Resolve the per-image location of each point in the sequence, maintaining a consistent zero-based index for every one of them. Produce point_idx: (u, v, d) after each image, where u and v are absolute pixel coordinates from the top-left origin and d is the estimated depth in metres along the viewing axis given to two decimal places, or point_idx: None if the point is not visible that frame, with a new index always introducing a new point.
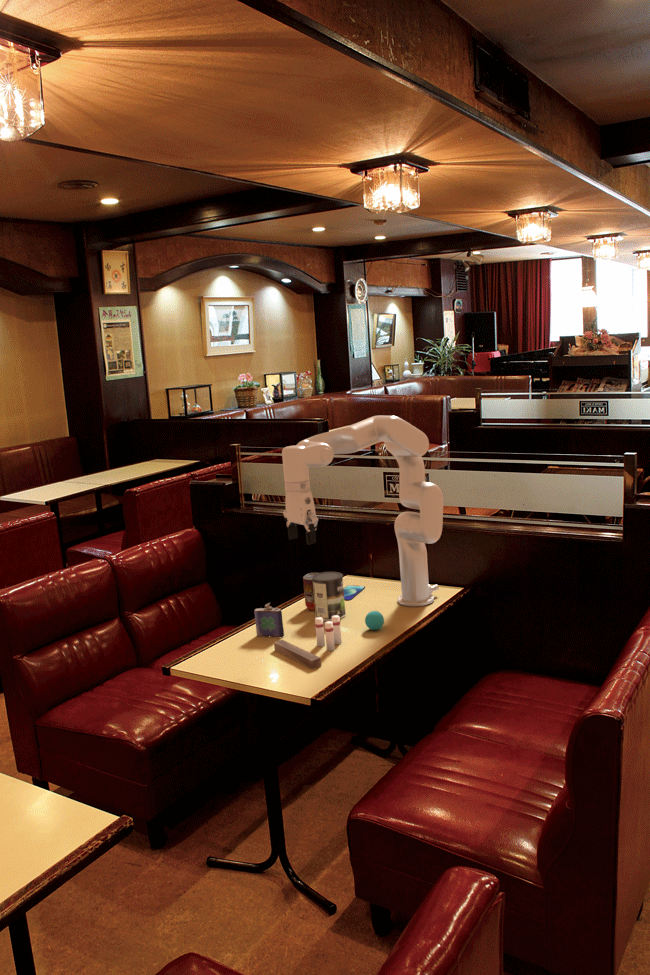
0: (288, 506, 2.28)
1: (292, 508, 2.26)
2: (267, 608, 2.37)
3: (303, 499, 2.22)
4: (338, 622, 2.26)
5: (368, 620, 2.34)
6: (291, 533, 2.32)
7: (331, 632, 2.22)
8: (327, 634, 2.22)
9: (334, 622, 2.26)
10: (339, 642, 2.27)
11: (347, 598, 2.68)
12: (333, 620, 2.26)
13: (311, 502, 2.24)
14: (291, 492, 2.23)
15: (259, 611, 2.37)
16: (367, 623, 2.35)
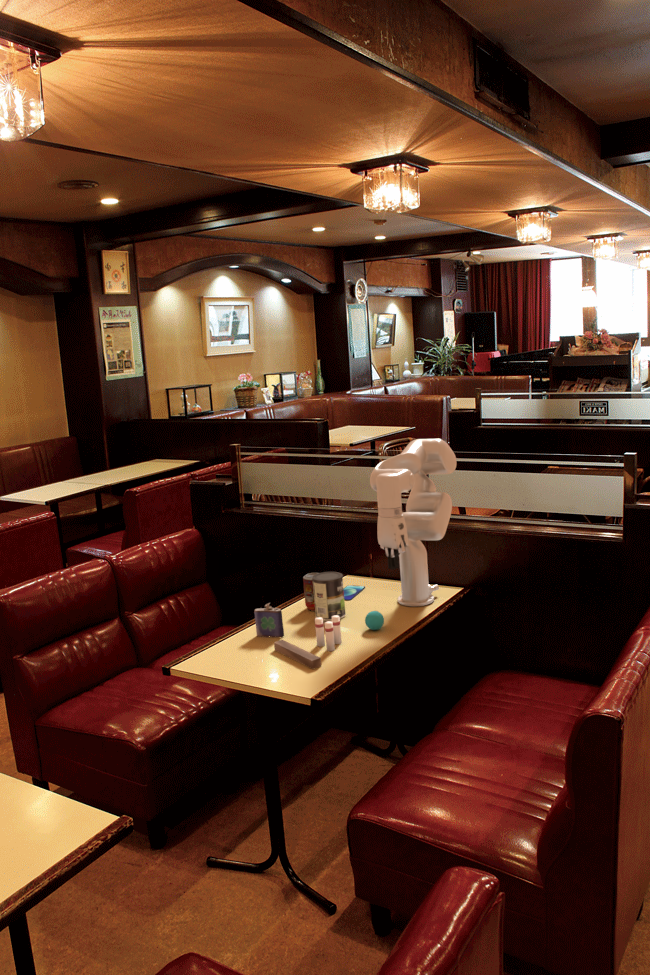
0: (380, 531, 2.37)
1: (385, 533, 2.35)
2: (267, 608, 2.37)
3: (397, 524, 2.32)
4: (338, 622, 2.26)
5: (368, 620, 2.34)
6: None
7: (331, 632, 2.22)
8: (327, 634, 2.22)
9: (334, 622, 2.26)
10: (339, 642, 2.27)
11: (347, 598, 2.68)
12: (333, 620, 2.26)
13: (404, 527, 2.33)
14: (385, 518, 2.33)
15: (259, 611, 2.37)
16: (367, 623, 2.35)
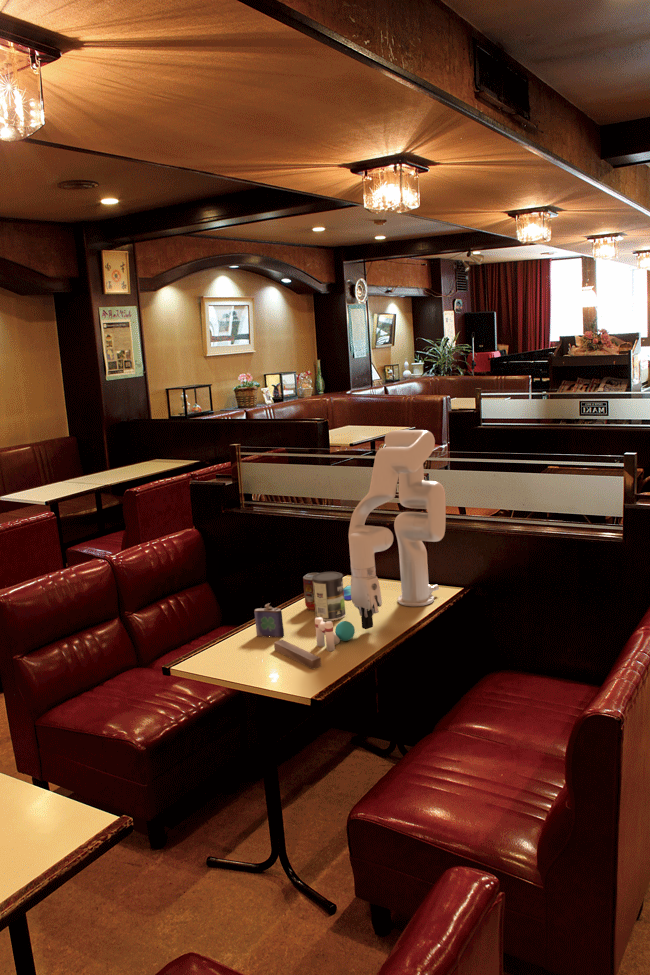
0: (354, 590, 2.33)
1: (358, 593, 2.31)
2: (267, 608, 2.37)
3: (370, 585, 2.28)
4: None
5: None
6: None
7: (331, 632, 2.22)
8: (327, 634, 2.22)
9: (323, 630, 2.23)
10: (337, 641, 2.27)
11: (347, 598, 2.68)
12: (321, 629, 2.23)
13: (377, 588, 2.29)
14: (358, 578, 2.29)
15: (259, 611, 2.37)
16: None
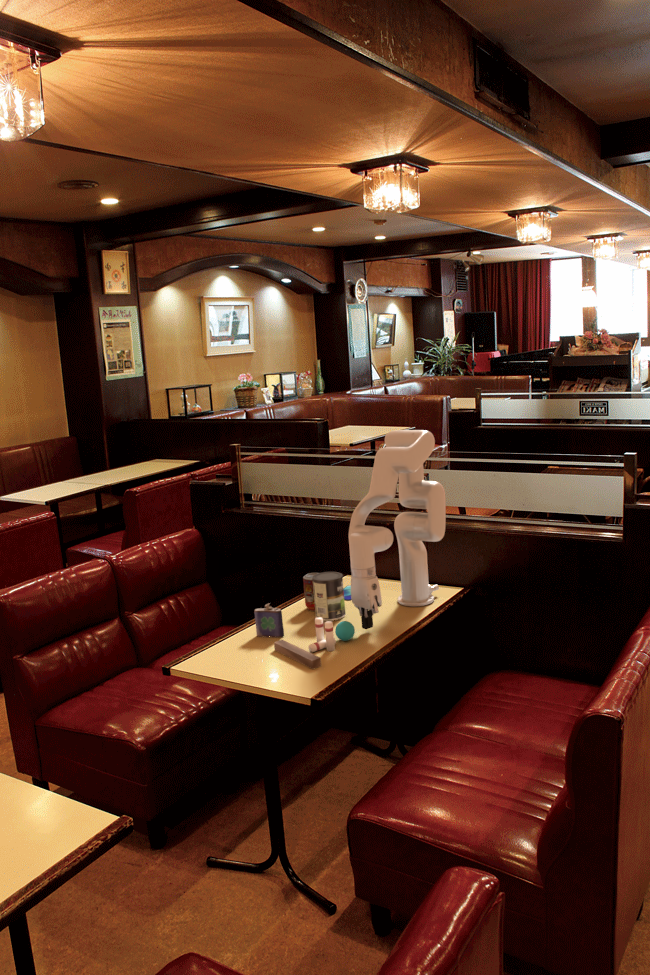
0: (354, 590, 2.33)
1: (358, 593, 2.31)
2: (267, 608, 2.37)
3: (370, 585, 2.28)
4: (317, 647, 2.22)
5: None
6: None
7: (331, 632, 2.22)
8: (327, 634, 2.22)
9: (316, 650, 2.23)
10: (334, 642, 2.26)
11: (347, 598, 2.68)
12: (313, 651, 2.23)
13: (377, 588, 2.29)
14: (358, 578, 2.29)
15: (259, 611, 2.37)
16: None
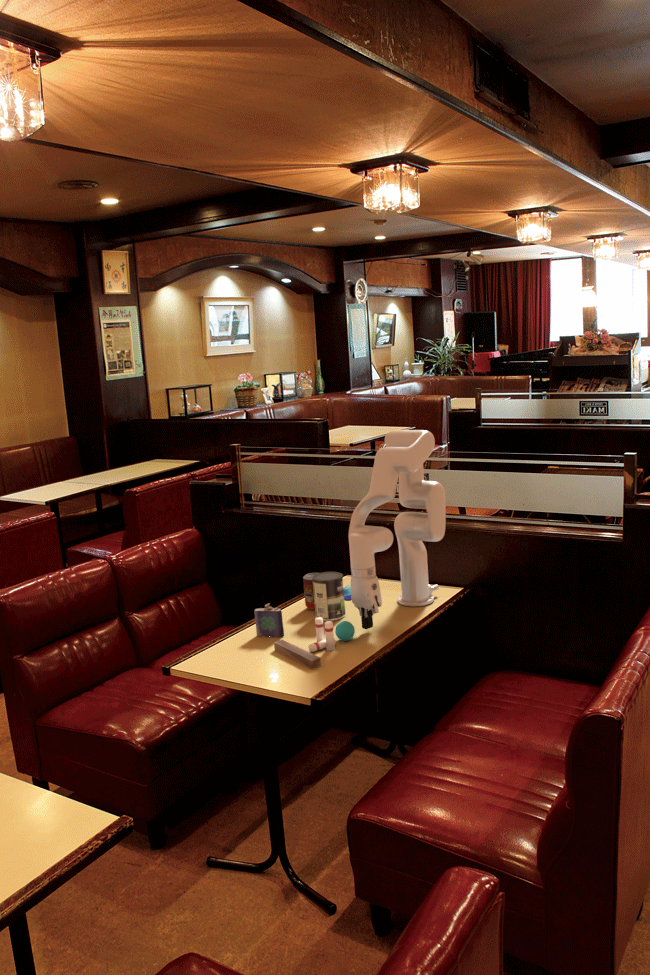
0: (354, 590, 2.33)
1: (358, 593, 2.31)
2: (267, 608, 2.37)
3: (370, 585, 2.28)
4: (317, 647, 2.22)
5: None
6: None
7: (331, 632, 2.22)
8: (327, 634, 2.22)
9: (316, 650, 2.23)
10: (334, 642, 2.26)
11: (347, 598, 2.68)
12: (313, 651, 2.23)
13: (377, 588, 2.29)
14: (358, 578, 2.29)
15: (259, 611, 2.37)
16: None
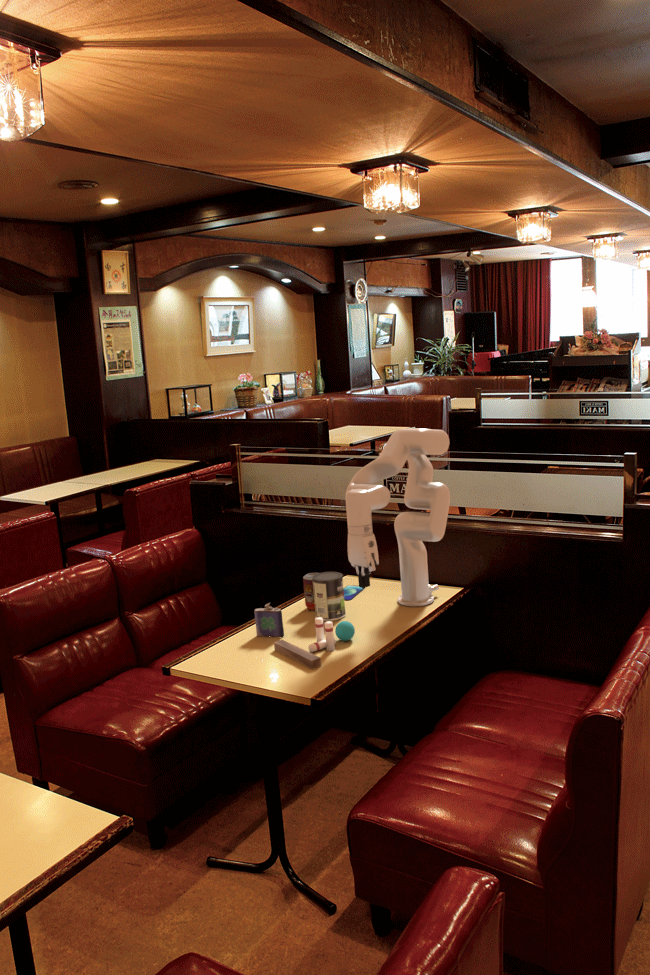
0: (350, 548, 2.31)
1: (355, 551, 2.29)
2: (267, 608, 2.37)
3: (367, 542, 2.25)
4: (317, 647, 2.22)
5: None
6: None
7: (331, 632, 2.22)
8: (327, 634, 2.22)
9: (316, 650, 2.23)
10: (334, 642, 2.26)
11: (347, 598, 2.68)
12: (313, 651, 2.23)
13: (374, 545, 2.27)
14: (355, 535, 2.26)
15: (259, 611, 2.37)
16: None
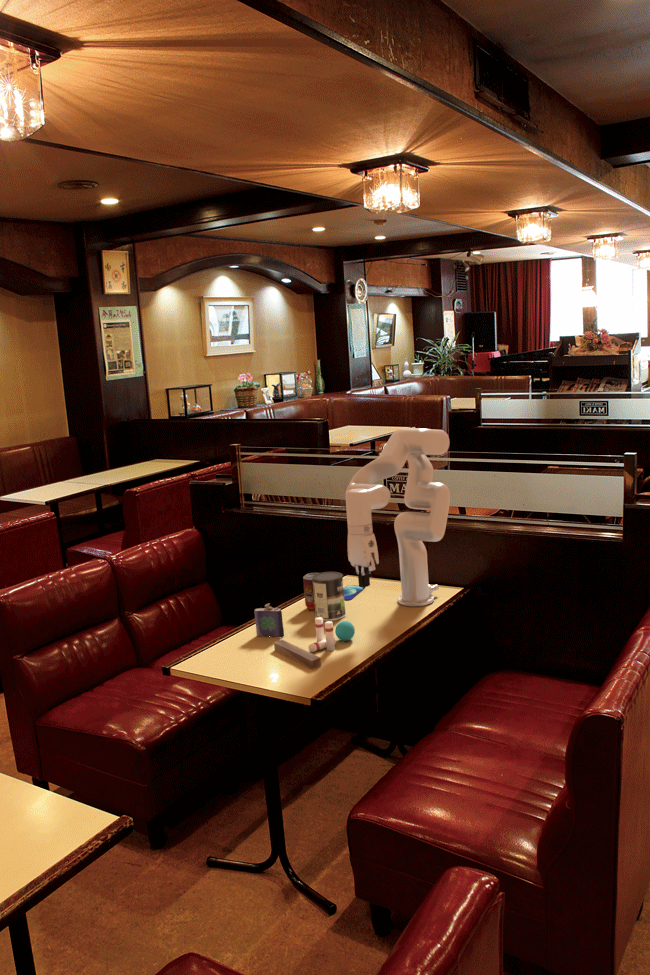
0: (350, 548, 2.31)
1: (355, 550, 2.29)
2: (267, 608, 2.37)
3: (367, 542, 2.25)
4: (317, 647, 2.22)
5: None
6: None
7: (331, 632, 2.22)
8: (327, 634, 2.22)
9: (316, 650, 2.23)
10: (334, 642, 2.26)
11: (347, 598, 2.68)
12: (313, 651, 2.23)
13: (374, 545, 2.27)
14: (355, 535, 2.26)
15: (259, 611, 2.37)
16: None
